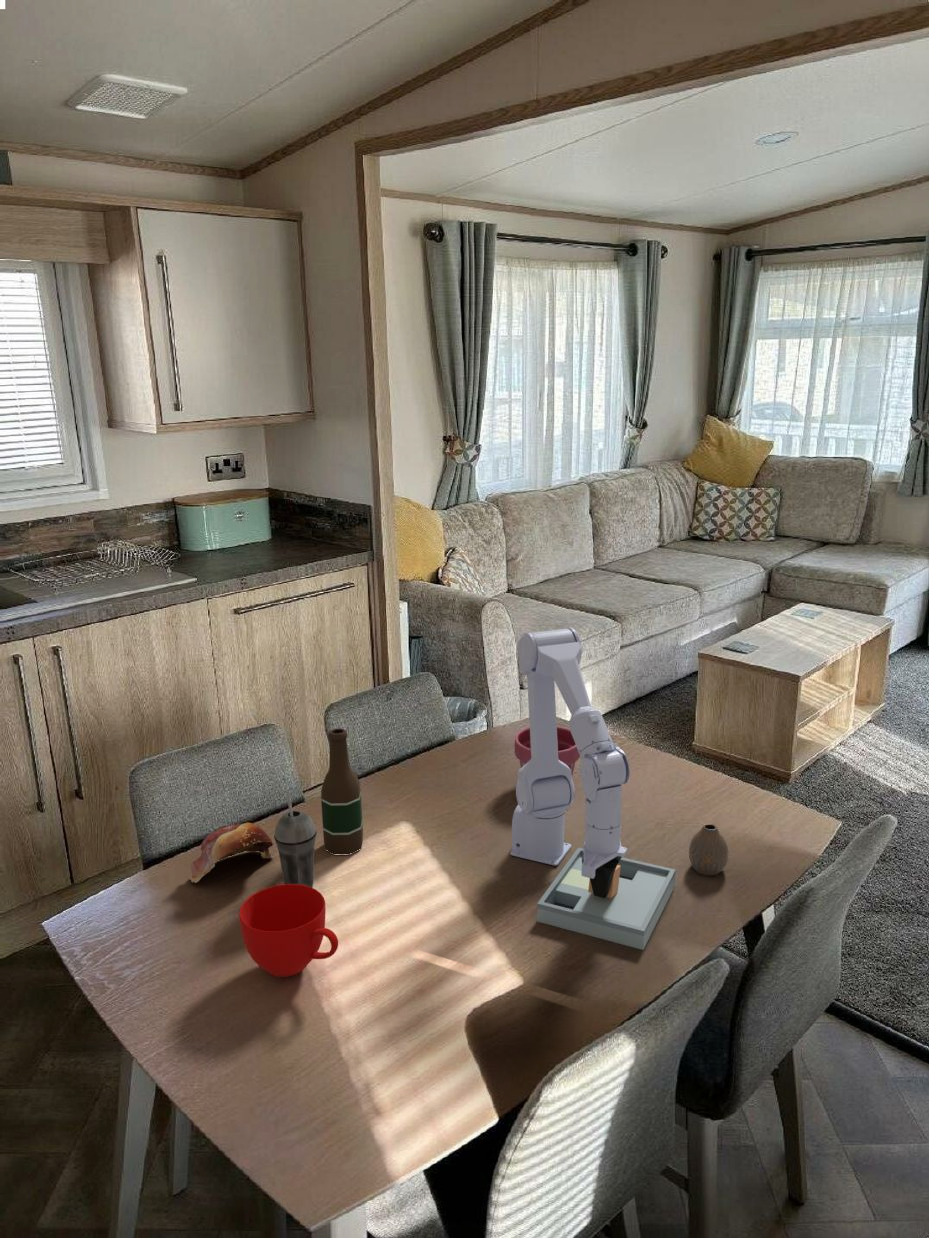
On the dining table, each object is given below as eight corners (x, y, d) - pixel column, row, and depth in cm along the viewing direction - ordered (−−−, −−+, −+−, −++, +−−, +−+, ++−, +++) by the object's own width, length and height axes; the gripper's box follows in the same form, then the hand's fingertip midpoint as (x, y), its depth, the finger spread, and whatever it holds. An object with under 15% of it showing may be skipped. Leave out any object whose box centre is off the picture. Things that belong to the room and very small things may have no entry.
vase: (728, 882, 161) (731, 837, 158) (688, 878, 162) (691, 834, 160) (725, 862, 167) (728, 819, 165) (687, 858, 169) (689, 816, 166)
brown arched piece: (262, 845, 176) (258, 798, 173) (289, 873, 166) (286, 824, 163) (181, 871, 167) (176, 822, 164) (205, 902, 157) (199, 851, 154)
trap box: (537, 921, 150) (537, 903, 149) (578, 863, 167) (578, 847, 166) (643, 950, 142) (644, 931, 141) (674, 886, 159) (675, 869, 159)
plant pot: (583, 807, 189) (584, 750, 185) (516, 808, 189) (515, 751, 186) (576, 777, 203) (577, 724, 199) (513, 778, 203) (513, 725, 199)
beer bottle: (316, 852, 173) (308, 735, 166) (336, 833, 180) (329, 720, 173) (352, 859, 170) (345, 741, 164) (371, 840, 177) (365, 726, 170)
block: (588, 892, 152) (591, 865, 152) (595, 886, 155) (598, 860, 155) (611, 897, 150) (614, 871, 150) (617, 891, 154) (620, 865, 154)
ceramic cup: (309, 1011, 130) (305, 951, 127) (226, 972, 139) (220, 915, 136) (365, 962, 140) (362, 905, 138) (284, 929, 149) (280, 875, 146)
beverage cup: (328, 887, 161) (322, 784, 156) (305, 908, 155) (297, 802, 149) (294, 878, 164) (287, 777, 159) (270, 899, 158) (261, 794, 152)
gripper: (612, 847, 139) (610, 924, 142) (639, 807, 151) (636, 879, 155) (569, 837, 142) (568, 913, 145) (599, 798, 154) (597, 869, 158)
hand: (600, 895), depth 150 cm, fingers closed
